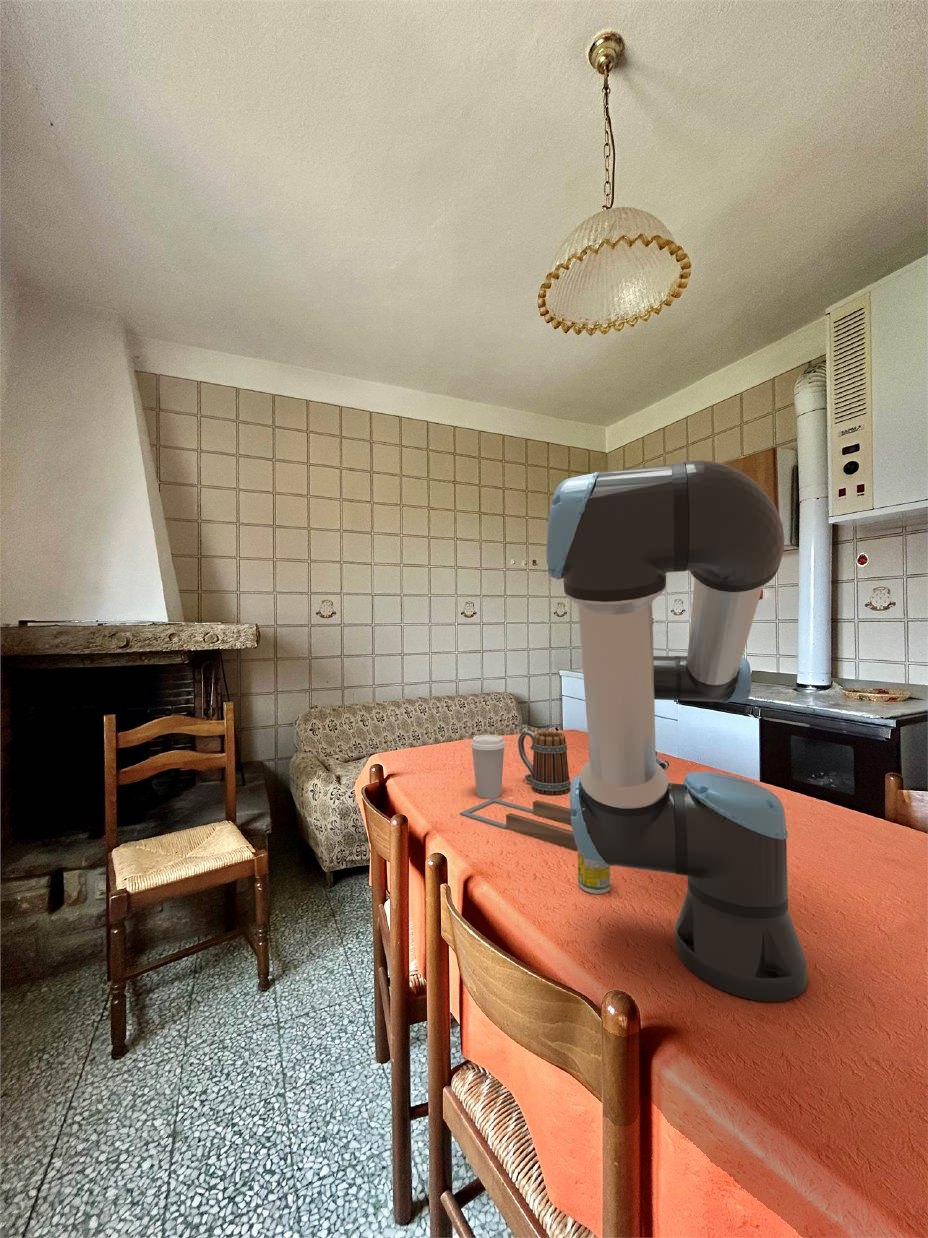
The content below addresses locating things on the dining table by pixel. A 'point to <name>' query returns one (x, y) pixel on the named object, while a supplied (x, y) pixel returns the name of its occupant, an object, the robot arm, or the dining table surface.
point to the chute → (545, 824)
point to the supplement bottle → (593, 875)
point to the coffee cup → (488, 764)
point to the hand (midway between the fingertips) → (636, 843)
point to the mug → (546, 762)
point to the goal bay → (468, 813)
